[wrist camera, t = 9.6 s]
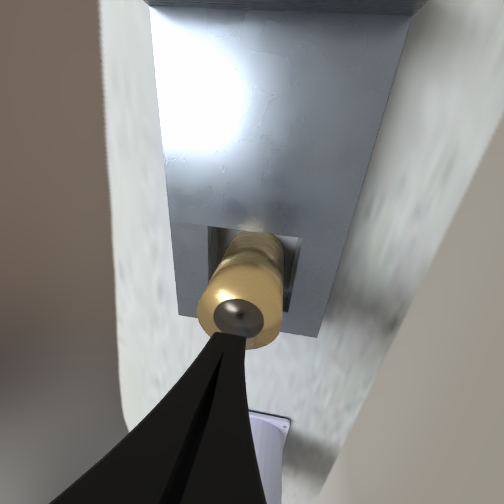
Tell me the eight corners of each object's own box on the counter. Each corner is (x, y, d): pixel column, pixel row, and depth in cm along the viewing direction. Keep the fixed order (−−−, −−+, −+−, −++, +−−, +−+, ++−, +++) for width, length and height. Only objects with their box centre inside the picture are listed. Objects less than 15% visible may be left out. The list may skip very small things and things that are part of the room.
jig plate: (313, 315, 20) (321, 367, 15) (190, 295, 21) (163, 339, 16) (403, -19, 10) (489, -135, 6) (171, -25, 11) (96, -128, 7)
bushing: (280, 282, 19) (276, 357, 12) (227, 275, 19) (197, 343, 13) (288, 233, 17) (288, 292, 10) (228, 225, 17) (194, 278, 11)
